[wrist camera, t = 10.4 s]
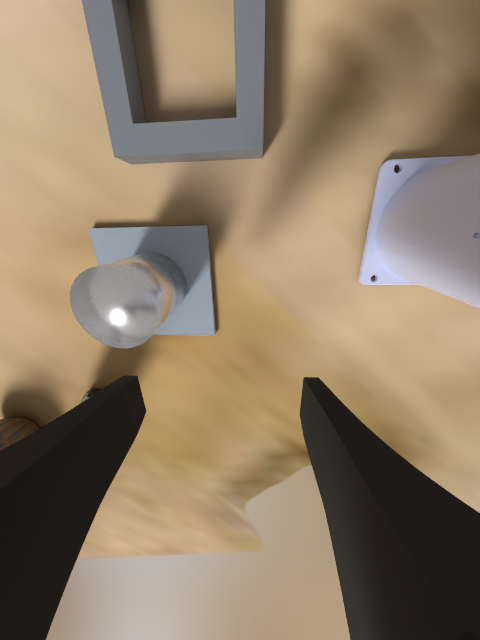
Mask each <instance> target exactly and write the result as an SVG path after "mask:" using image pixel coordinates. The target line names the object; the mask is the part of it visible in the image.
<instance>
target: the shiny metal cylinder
mask: <svg viewBox="0 0 480 640" xmlns="http://www.w3.org/2000/svg"><path fill="white" fill-rule="evenodd" d="M185 294H186V280H185V276H184V274H183V272H182V270H181V268H180V267H179V266H178V265H177V263H176V262H174V261H173V260H172V259H171V258H169V257H168V256H166V255H164V254H161V253H157V252H146V253H142V254H138V255H135V256H131V257H128V258H124V259H121V260H117V261H114V262H110V263H107V264H104V265H100V266H97V267H93V268H90V269H87V270H85V271H84V272H82V273H81V274H80V275H79V276H78V277H77V278H76V279H75V281H74V282H73V284H72V287H71V291H70V303H71V308H72V311H73V313H74V315H75V317H76V319H77V321H78V322H79V324H80V325H81V326H82V328H83V329H84V330H85V331H86V332H87V333H88V334H89V335H91V336H92V337H93V338H95V339H96V340H98V341H100V342H101V343H104V344H106V345H109V346H112V347H116V348H133V347H136V346H139V345H141V344H143V343H144V342H146V341H147V340H148V339H149V338H150V337H151V336H152V335H153V334H154V332H155V331H156V330H157V329H158V328H159V327H160V326H161V325H162V324H163V323H164V321H165V320H166V319H167V318H168V317H169V316H170V315H171V314H172V313H173V312H174V310H175V309H176V308H177V307H178V306H179V305H180V304H181V303H182V301H183V299H184V297H185Z"/></svg>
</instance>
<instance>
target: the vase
mask: <svg viewBox="0 0 480 640" xmlns="http://www.w3.org/2000/svg"><path fill="white" fill-rule="evenodd" d="M39 429H40V428H39V427H38V425H36V424H35V423H34V422H32V421H30V420H28V419H25V418H21V417H14V418H5V419H1V420H0V451H1V450H3V449H4V448H6V447H8V446H10V445H12V444H14V443H15V442H17V441H19V440H21V439H23V438H25V437H26V436H28V435H30V434H32V433H33V432H35V431H37V430H39Z"/></svg>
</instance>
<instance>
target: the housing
mask: <svg viewBox="0 0 480 640" xmlns="http://www.w3.org/2000/svg"><path fill="white" fill-rule="evenodd" d="M82 4H83V9H84V13H85V18H86V23H87V28H88V33H89V37H90V42H91V47H92V52H93V57H94V61H95V66H96V71H97V76H98V81H99V85H100V90H101V95H102V100H103V105H104V109H105V114H106V119H107V124H108V129H109V133H110V138H111V143H112V148H113V153H114V157H116V158H119V159H121V160H123V161H125V162H128V163H130V164H143V163H165V162H186V161H207V160H229V159H250V158H262V156H263V128H264V54H265V0H234V32H235V73H236V114H237V118H221V119H205V120H188V121H171V122H155V123H146V119H145V113H144V106H143V100H142V93H141V87H140V80H139V74H138V67H137V61H136V54H135V48H134V41H133V35H132V28H131V22H130V15H129V9H128V2H127V0H82Z"/></svg>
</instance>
